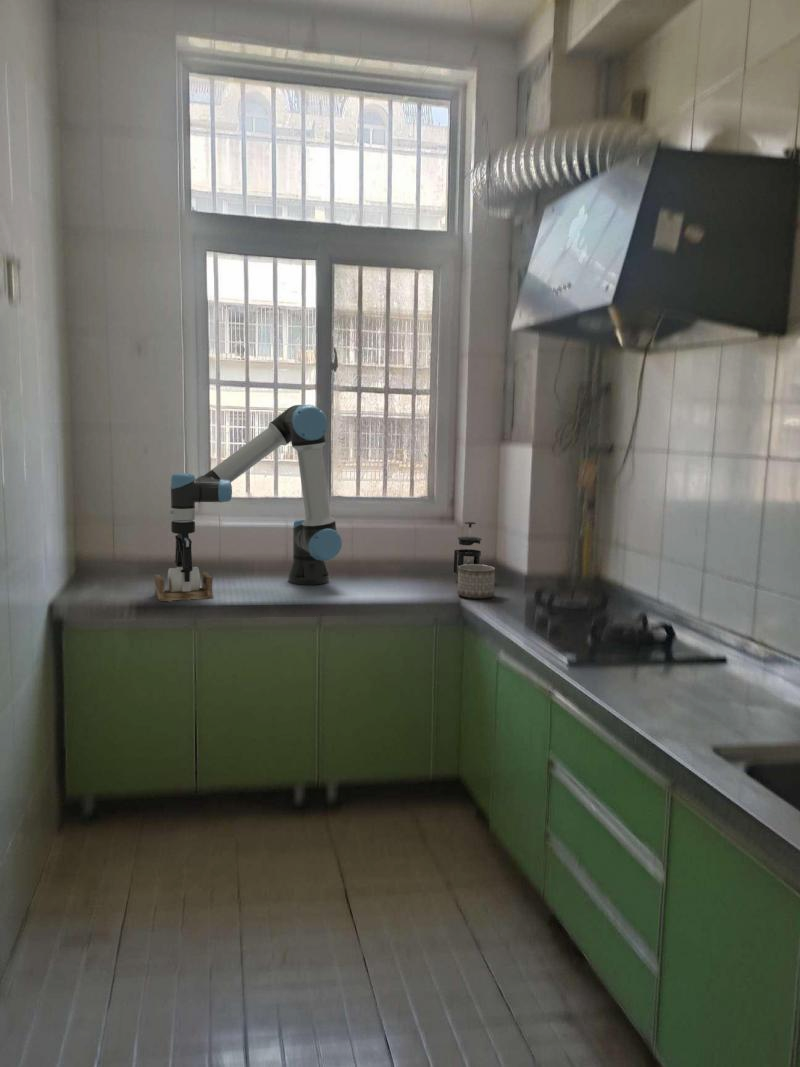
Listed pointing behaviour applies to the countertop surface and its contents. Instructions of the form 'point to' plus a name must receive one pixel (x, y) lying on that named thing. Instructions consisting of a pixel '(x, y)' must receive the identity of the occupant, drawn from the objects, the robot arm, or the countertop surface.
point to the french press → (466, 551)
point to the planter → (476, 580)
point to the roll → (176, 579)
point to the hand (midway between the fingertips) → (183, 588)
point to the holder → (201, 594)
